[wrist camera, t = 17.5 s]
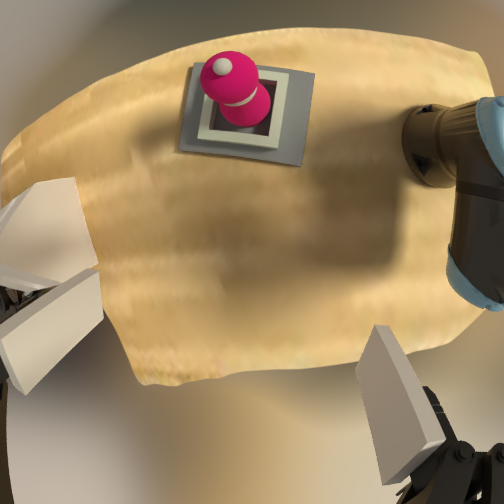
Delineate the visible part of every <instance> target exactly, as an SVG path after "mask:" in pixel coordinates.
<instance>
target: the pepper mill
mask: <svg viewBox="0 0 504 504" xmlns="http://www.w3.org/2000/svg"><path fill="white" fill-rule="evenodd" d="M258 81H259V73H258V69H257V67H256V65H255V63H254V62H253V61H252V60H251V59H250V58H249V57H248V56H246V55H244V54H242V53H240V52H235V51H225V52H221V53H218V54H216V55H214V56H213V57H211V58H210V59H209V60H208V61H207V62H206V63H205V64H204V66H203V68H202V70H201V73H200V84H201V87H202V89H203V91H204V92H205V94H206V95H207V96H208V97H209V98H210V99H212V100H214V101H216V102H218V103H219V107H220V110H221V113H222V114H223V116H224V117H225V118H226V119H227V120H228V121H229V122H230V123H232V124H234V125H238V126H242V127H254V126H257V125H259V124H260V123H262V122H263V121H264V120H265V118H266V116H267V114H268V112H269V109H270V96H269V94H268V92H267V90H266V89H265V87H264V86H263V85H262V84H260V83H259V82H258Z"/></svg>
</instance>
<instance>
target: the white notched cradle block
mask: <svg viewBox="0 0 504 504" xmlns="http://www.w3.org/2000/svg"><path fill="white" fill-rule="evenodd" d="M98 263H99V262H98V259H97V256H96V253H95V250H94V247H93V244H92V241H91V238H90V235H89V231H88V228H87V225H86V221H85V218H84V214H83V210H82V206H81V203H80V199H79V194H78V190H77V186H76V181H75V177H70V178H62V179H55V180H48V181H42V182H36V183H35V184H33V185H32V186H31V187H29V188H28V189H26V190H25V191H24V192H22V193H21V194H20V195H18V196H17V197H16V198H14V199H13V200H12V201H11V202H9V203H8V204H7V205H6V206H4V207H3V208H2V209H1V211H0V285H1V286H4V287H8V288H12V289H16V290H20V291H24V292H31V291H35V290H39V289H44V288H48V287H52V286H56V285H60V284H62V283H63V282H65V281H67V280H68V279H70V278H72V277H73V276H75V275H77V274H78V273H80V272H82V271H83V270H85V269H87V268H91V267H93V266H95V265H96V264H98Z"/></svg>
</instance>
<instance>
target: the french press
mask: <svg viewBox="0 0 504 504" xmlns="http://www.w3.org/2000/svg"><path fill="white" fill-rule="evenodd" d="M5 288H7V287H4V286H1V285H0V315H1V316H4V315H5V314H6V311H8V310H9V309H10V305H11V306H12V307H13V310H14V312H16V311H18V310H19V309H21V308H22V307H24V306H27V305H29V304H31V303H32V302H34V301H35V300H37V299H38V294H37V293H39V292H40V291H42V290H45V289H47V288H44V289H39V290H35V291H31V292H24V291H20V290H16V292H17V295H18V301H17V302H16V303H14V302H13V301H12V300H11V299H10V297H9V296H8V294H7V292H8V291H9V290H11V289H12V288H10V289H8V290H6V289H5ZM22 294H23V295H24V296H25V297H24V298H22ZM33 295H34V299H32V300H31V301H29V302H28V303H26V304H25V305H23V306H22V307H20V308H19V309H17V308H16V307H17V306H19V305H20V304H21V303H22V302H24V301H25V300H27V299H28V298H30V297H31V296H33Z"/></svg>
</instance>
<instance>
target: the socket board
mask: <svg viewBox="0 0 504 504" xmlns="http://www.w3.org/2000/svg"><path fill="white" fill-rule="evenodd" d="M204 64H205V63H194V66H193V70H192V75H191V80H190V85H189V90H188V95H187V100H186V106H185V111H184V117H183V123H182V129H181V136H180V143H179V150H180V151H191V152H202V153H211V154H221V155H229V156H237V157H244V158H252V159H258V160H265V161H271V162H277V163H283V164H289V165H294V166H300V167H301V165H302V159H303V153H304V146H305V140H306V134H307V127H308V120H309V114H310V107H311V100H312V93H313V85H314V78H315V74H314V73H309V72H303V71H297V70H291V69H285V68H277V67H269V66H260V65H256V67H257V69H258V73H259V81H258V82H259V83H260V84H262V85H263V86H264V87H265V89H266V90H267V92H268V94H269V96H270V109H269V112H268V114H267V116H266V118H265V120H264V121H263V122H262V123H260V124H259V125H257V126H254V127H242V126H238V125H234V124H232V123H230V122H229V121H228V120H227V119H226V118H225V117H224V116H223V114H222V113H221V110H220V107H219V103H218V102H216V101H214V100H212V99H210V98H209V97H208V96H207V95H206V94H205V92H204V91H203V89H202V87H201V84H200V73H201V70H202V68H203V66H204Z"/></svg>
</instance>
